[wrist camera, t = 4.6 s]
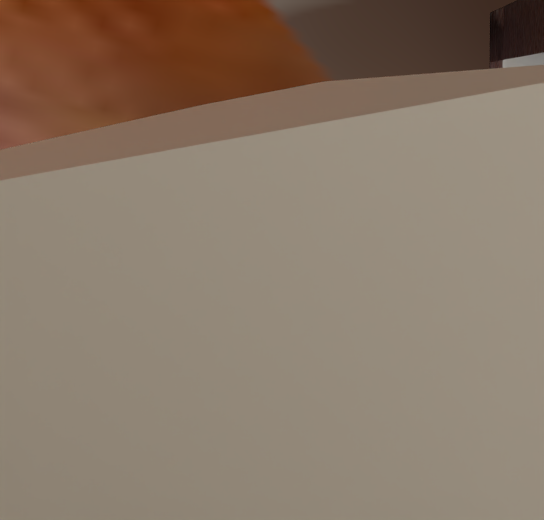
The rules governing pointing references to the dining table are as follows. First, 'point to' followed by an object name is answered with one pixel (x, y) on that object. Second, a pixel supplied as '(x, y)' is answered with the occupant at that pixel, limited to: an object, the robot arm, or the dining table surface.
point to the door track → (517, 34)
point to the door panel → (281, 308)
